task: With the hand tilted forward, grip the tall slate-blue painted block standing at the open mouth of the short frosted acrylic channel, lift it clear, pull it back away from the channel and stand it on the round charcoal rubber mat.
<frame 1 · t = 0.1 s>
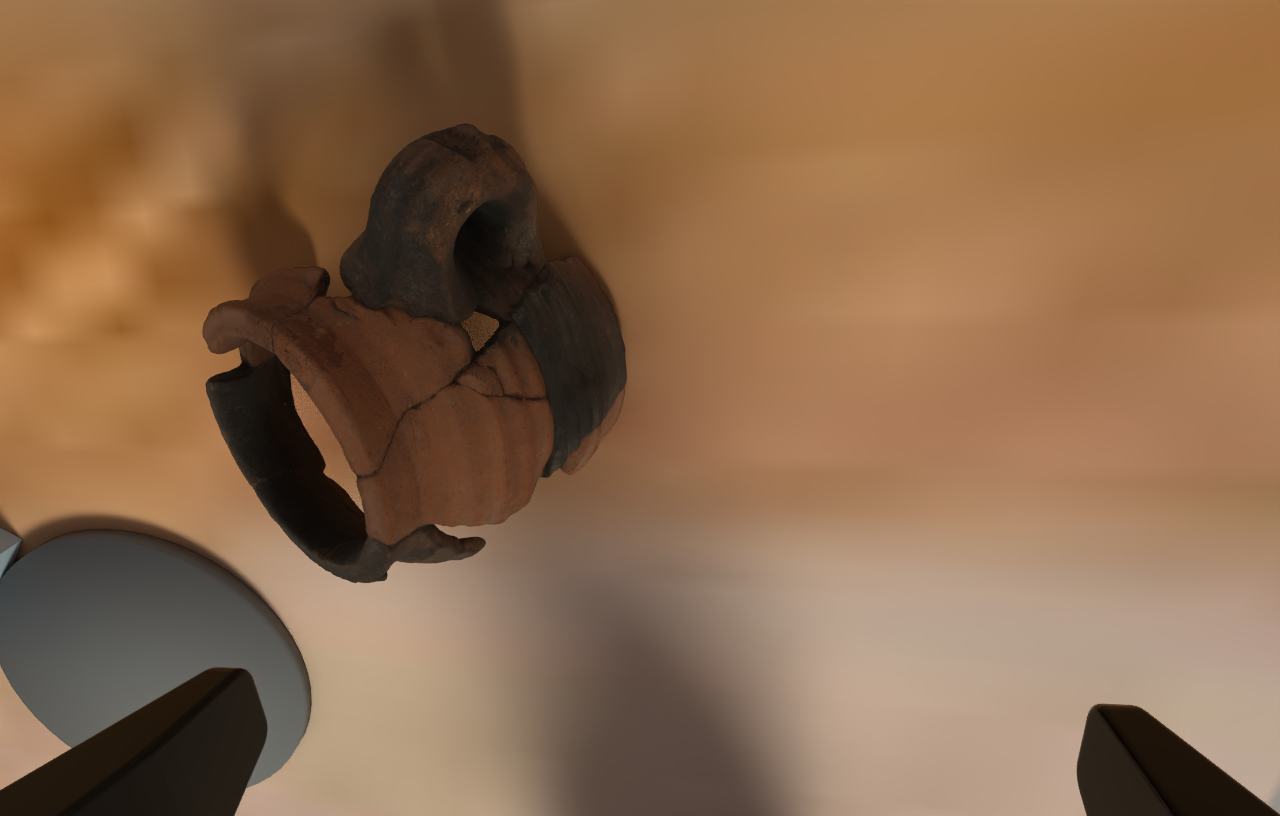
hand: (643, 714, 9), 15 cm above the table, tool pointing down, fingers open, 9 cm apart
rubber mat: (157, 665, 30), on the table
pottery mug: (470, 318, 23), on the table
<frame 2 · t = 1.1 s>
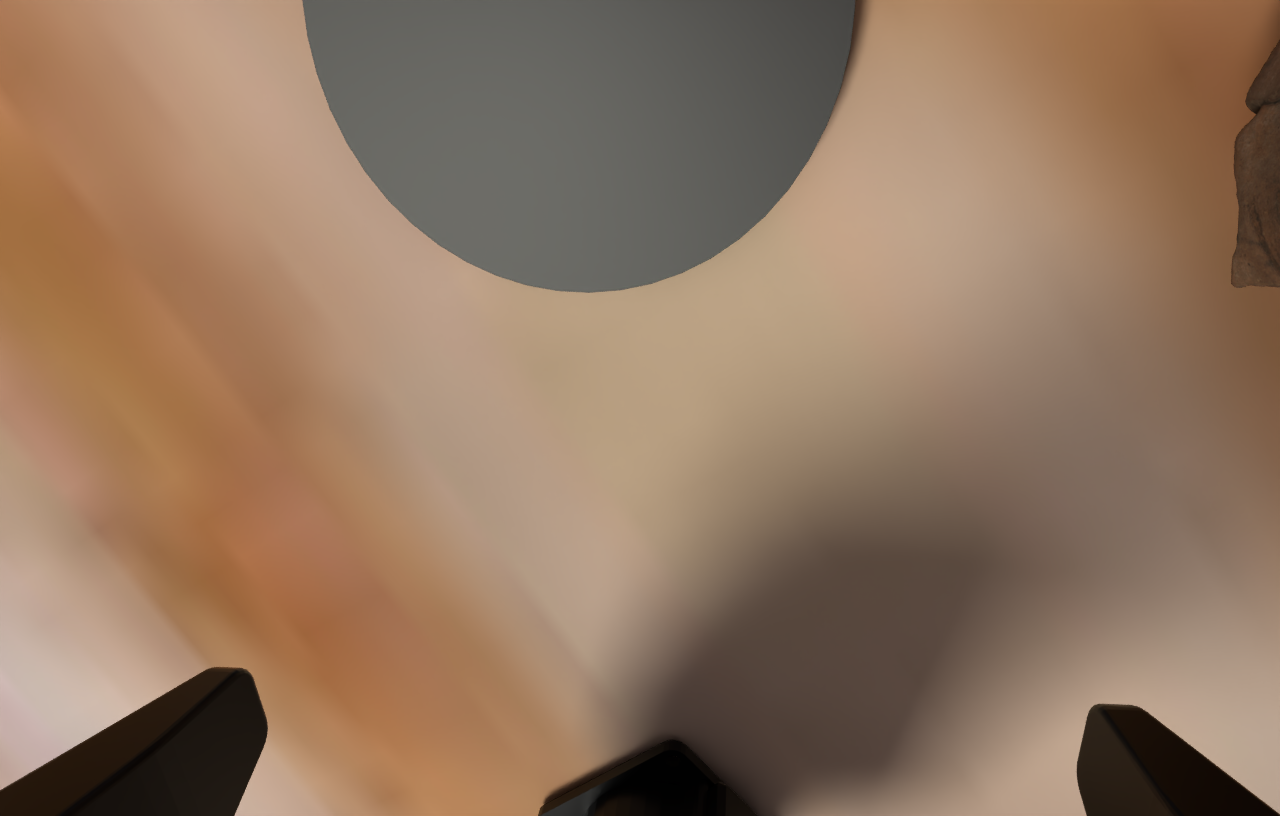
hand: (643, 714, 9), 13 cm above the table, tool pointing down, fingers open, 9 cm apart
rubber mat: (574, 22, 18), on the table
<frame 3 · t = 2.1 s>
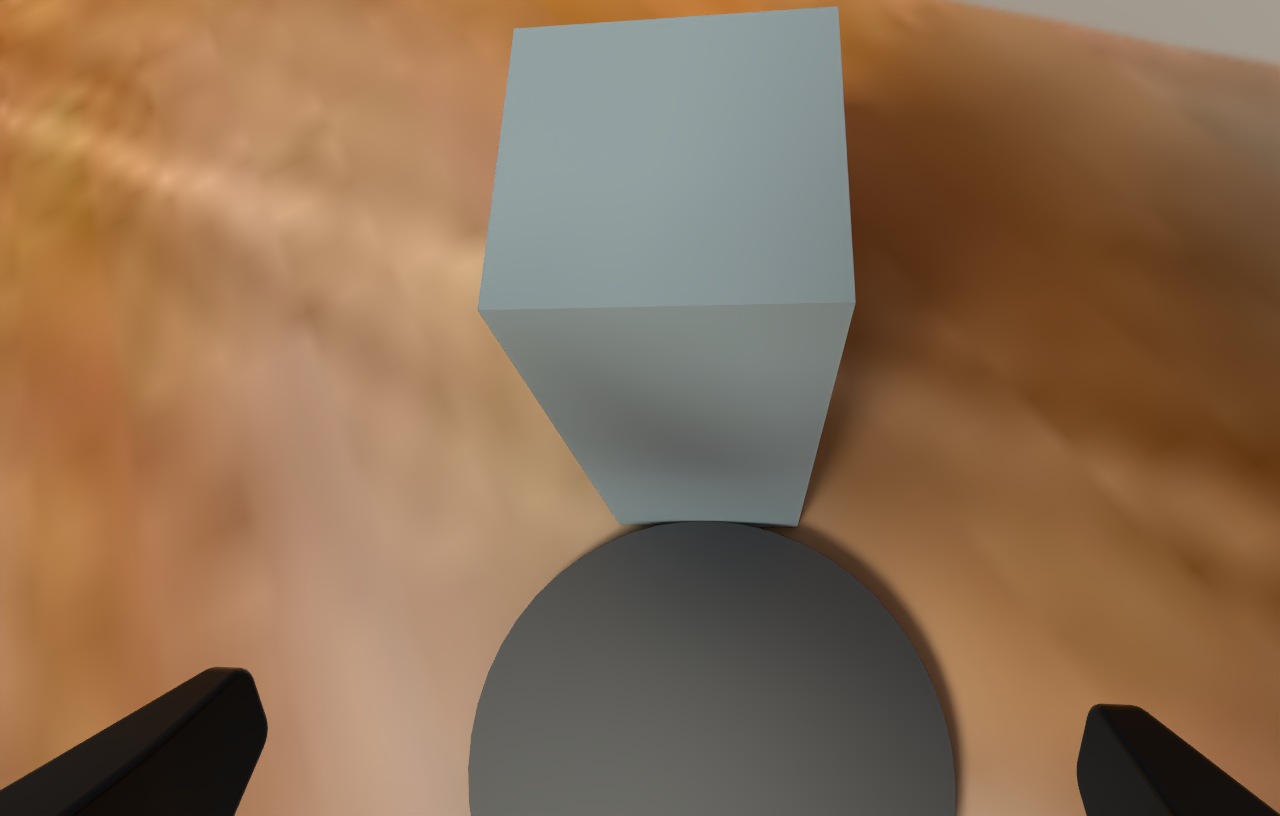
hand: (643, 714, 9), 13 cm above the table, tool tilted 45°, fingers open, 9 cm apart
painted block: (708, 441, 23), on the table
rubber mat: (704, 757, 20), on the table
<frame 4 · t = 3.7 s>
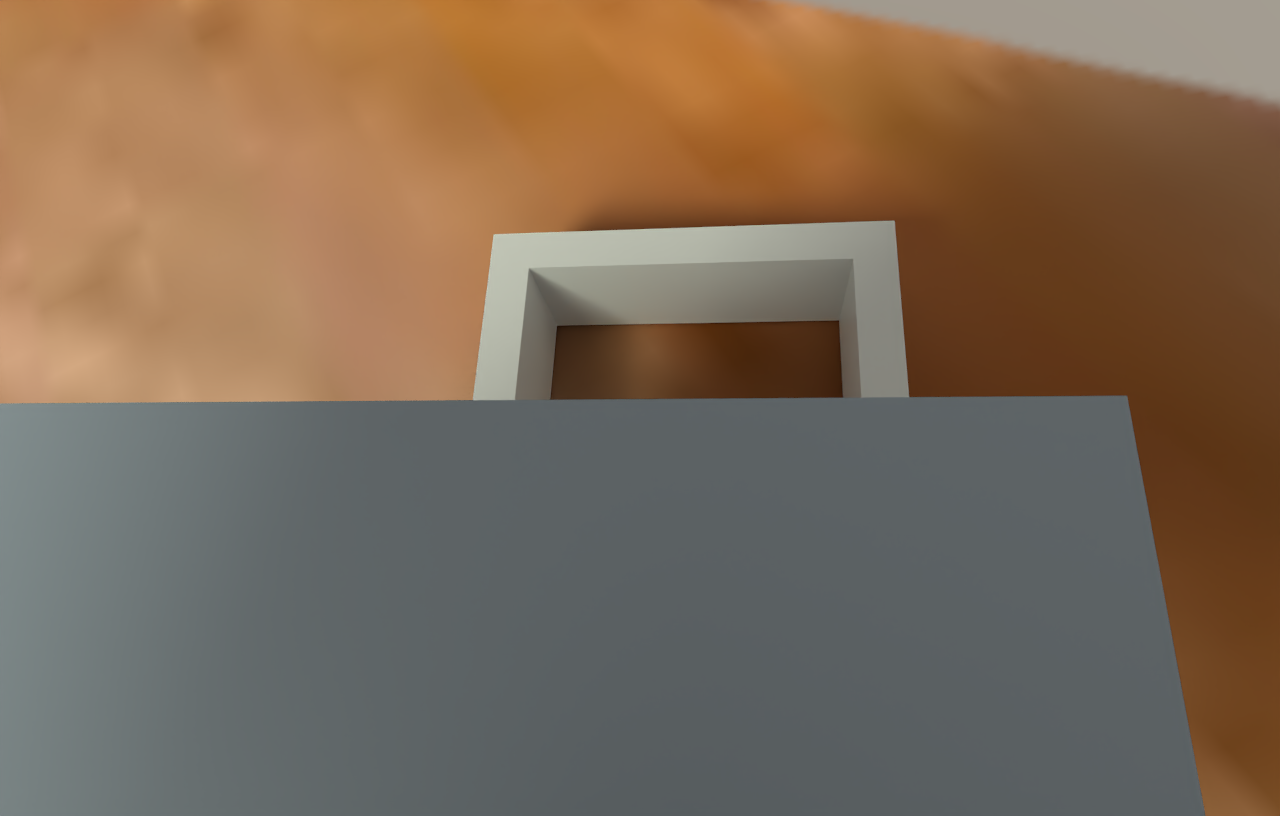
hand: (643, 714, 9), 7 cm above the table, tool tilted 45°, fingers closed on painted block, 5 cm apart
painted block: (684, 800, 14), on the table, touching gripper
acrylic channel: (691, 453, 17), on the table
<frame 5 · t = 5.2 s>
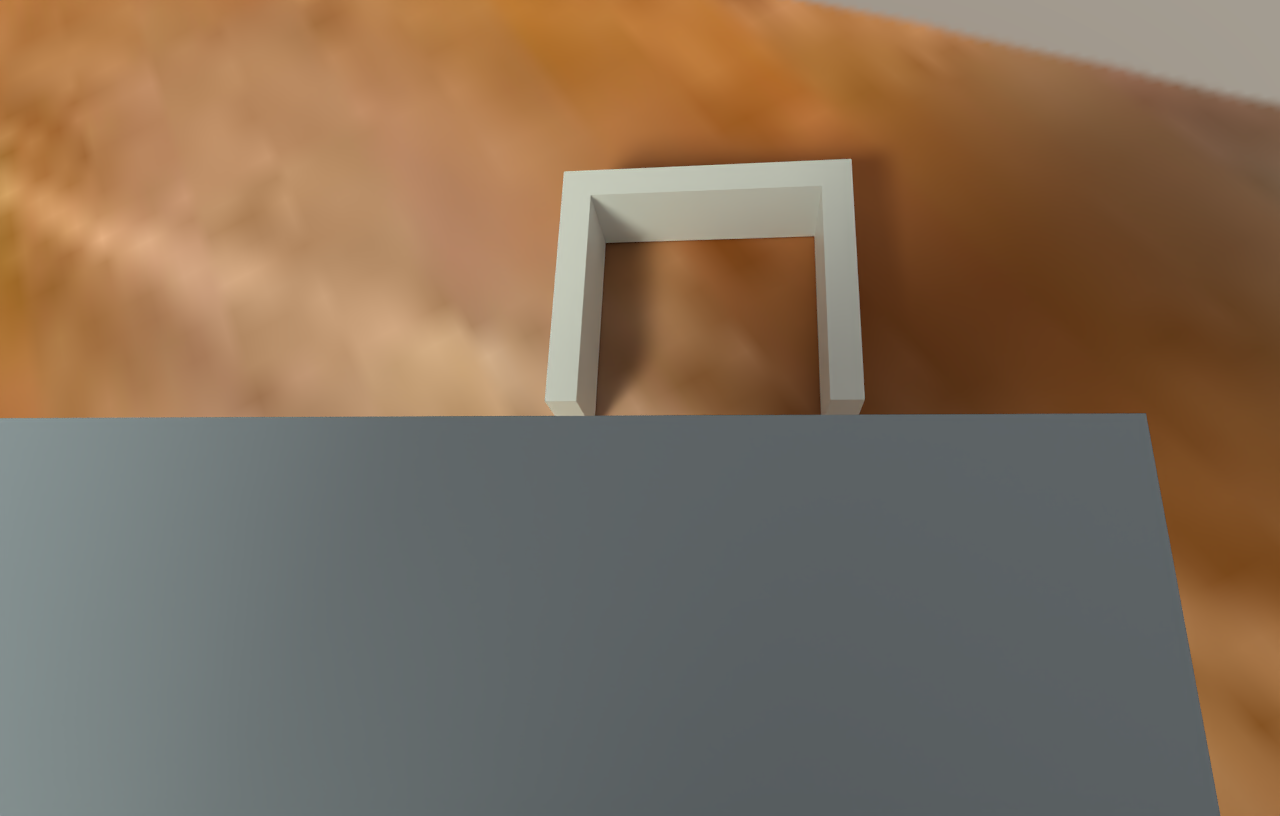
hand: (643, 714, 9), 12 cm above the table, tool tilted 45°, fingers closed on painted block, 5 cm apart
painted block: (686, 787, 14), point 5 cm above the table, touching gripper
acrylic channel: (707, 331, 23), on the table
when the fingers open (8 cm above the table, at t = 6.7 s): painted block stays where it is, resting on rubber mat.
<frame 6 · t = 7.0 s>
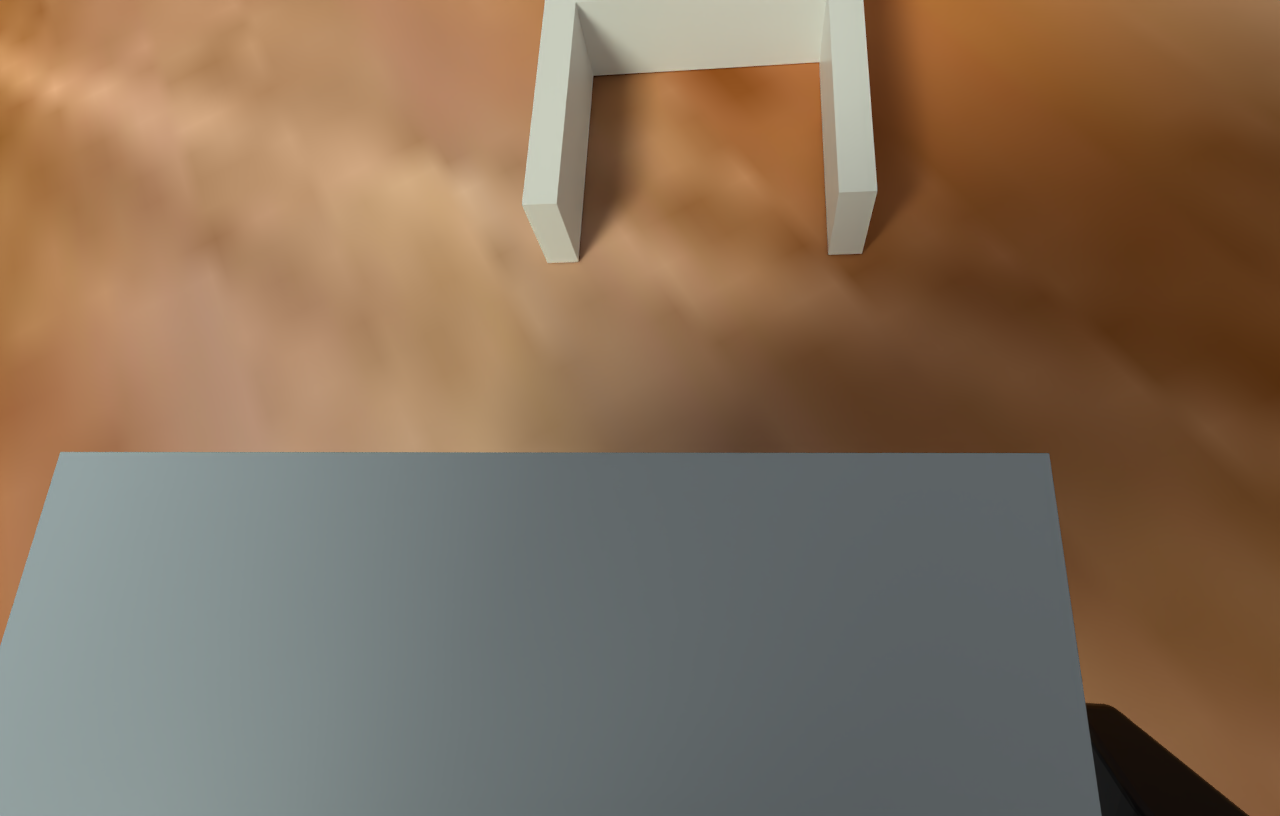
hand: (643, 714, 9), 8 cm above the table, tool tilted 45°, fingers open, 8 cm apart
painted block: (688, 786, 15), point 1 cm above the table, touching rubber mat
acrylic channel: (702, 158, 21), on the table
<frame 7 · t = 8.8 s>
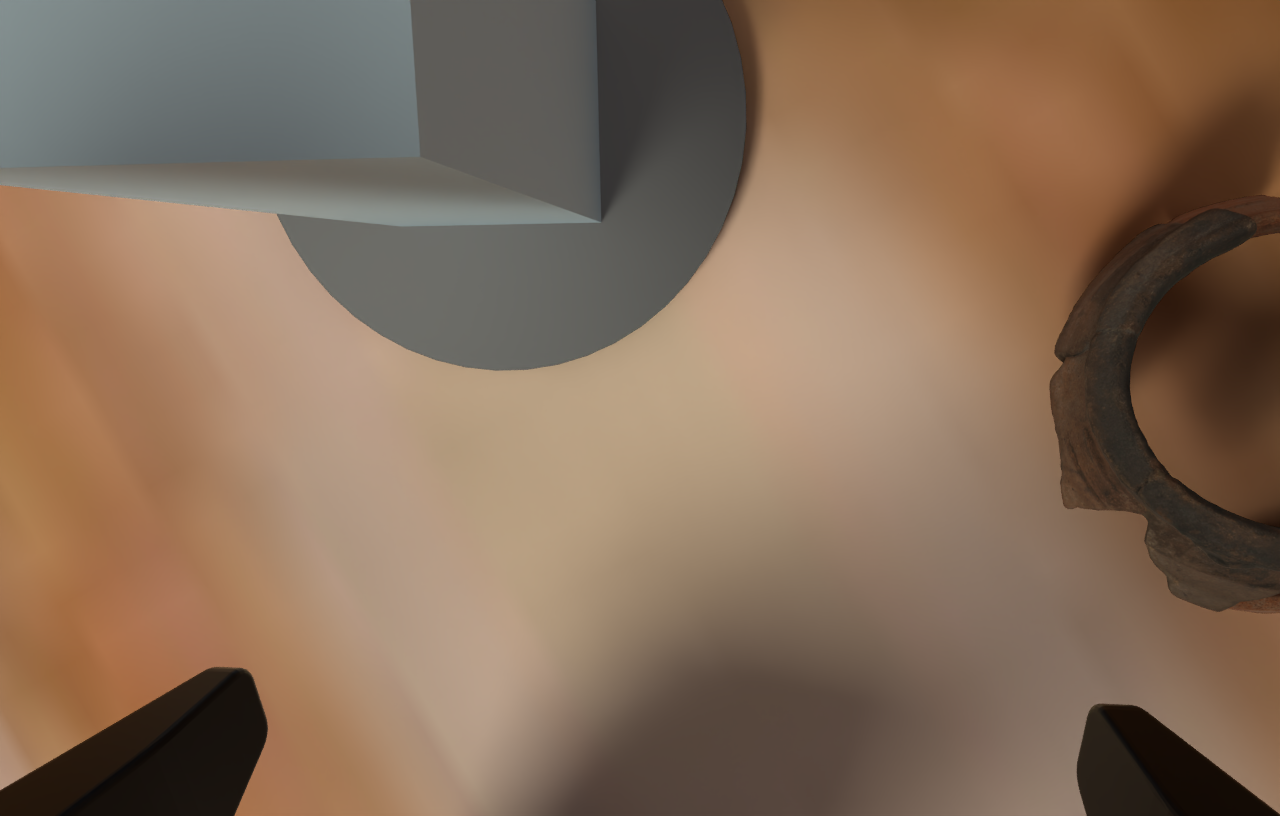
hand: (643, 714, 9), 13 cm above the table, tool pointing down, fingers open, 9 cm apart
painted block: (495, 117, 19), point 1 cm above the table, touching rubber mat
rubber mat: (501, 127, 20), on the table
pottery mug: (1250, 392, 20), on the table
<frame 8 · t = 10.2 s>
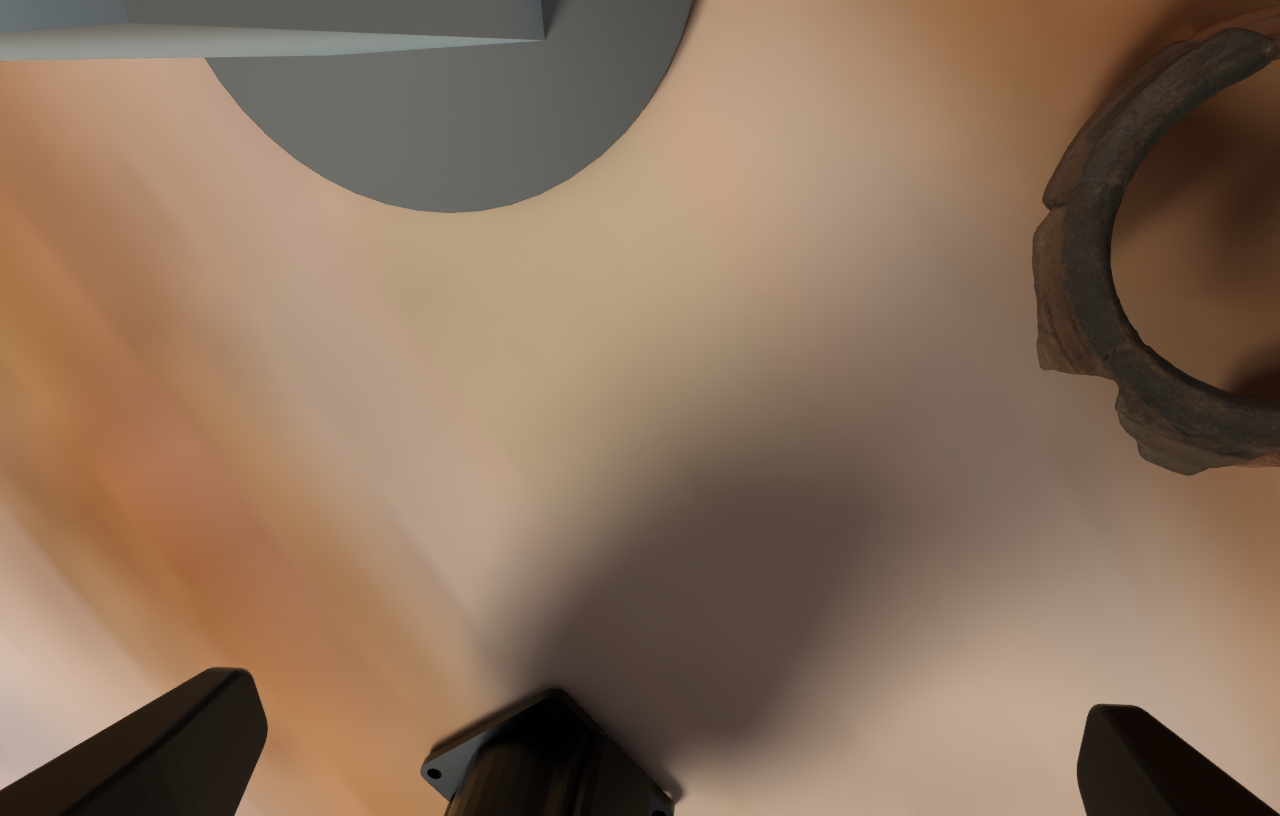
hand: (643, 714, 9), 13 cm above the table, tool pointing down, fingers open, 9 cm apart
pottery mug: (1272, 230, 18), on the table
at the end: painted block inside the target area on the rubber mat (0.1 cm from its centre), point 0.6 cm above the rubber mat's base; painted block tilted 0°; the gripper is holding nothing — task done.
